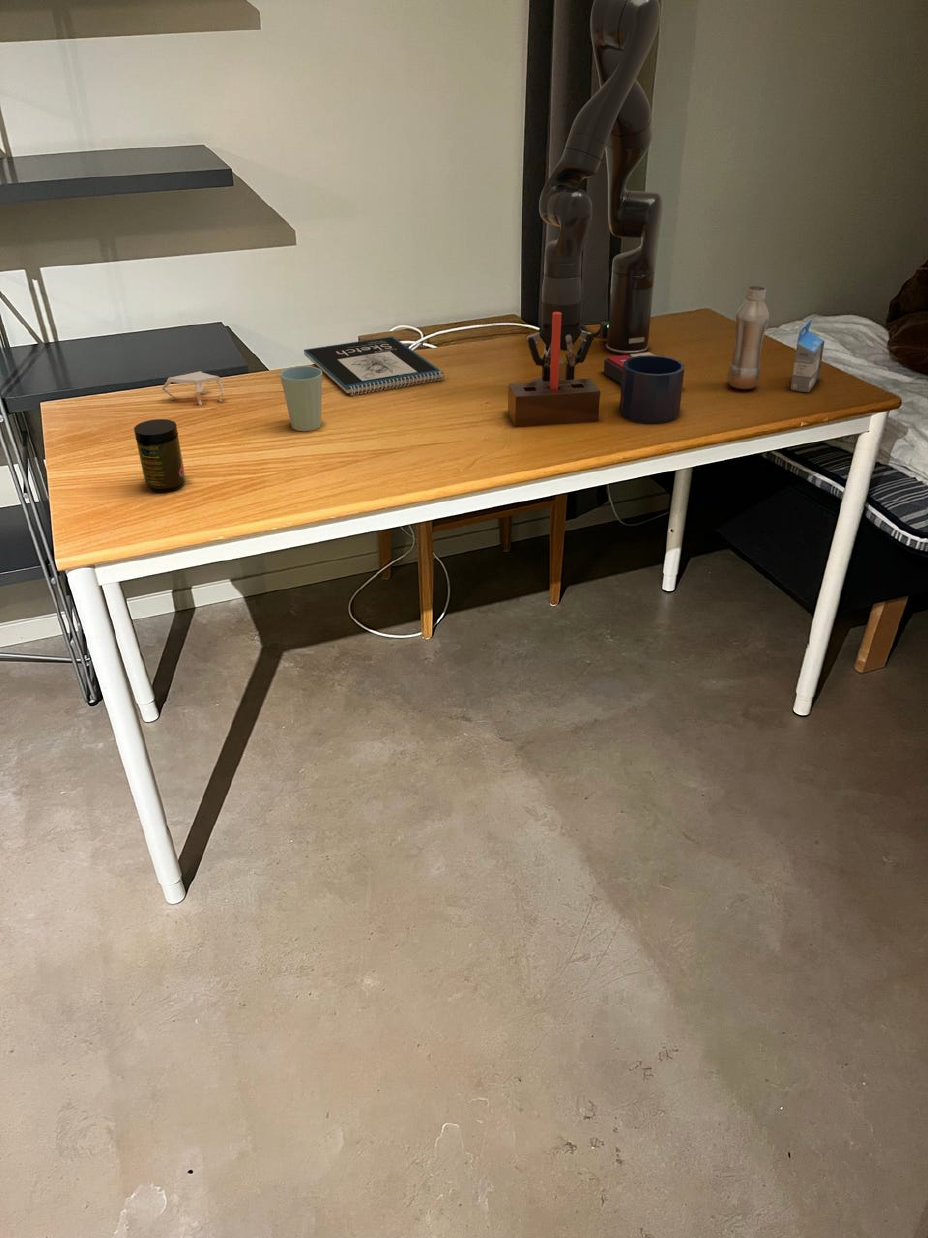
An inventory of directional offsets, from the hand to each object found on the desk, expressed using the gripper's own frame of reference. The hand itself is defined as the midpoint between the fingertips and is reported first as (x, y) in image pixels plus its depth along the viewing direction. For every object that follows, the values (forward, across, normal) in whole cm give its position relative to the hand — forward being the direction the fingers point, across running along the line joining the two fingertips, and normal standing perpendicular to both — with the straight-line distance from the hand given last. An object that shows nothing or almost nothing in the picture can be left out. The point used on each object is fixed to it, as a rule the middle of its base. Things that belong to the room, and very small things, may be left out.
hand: (557, 383), depth 201 cm
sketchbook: (+2, +36, -22) cm, 42 cm away
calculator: (+2, -19, -3) cm, 19 cm away
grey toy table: (+2, +73, -9) cm, 74 cm away
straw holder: (+2, +4, +13) cm, 14 cm away
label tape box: (+2, -51, +5) cm, 51 cm away
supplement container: (+2, +75, +31) cm, 81 cm away
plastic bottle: (+2, -38, +4) cm, 38 cm away
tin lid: (+1, 0, 0) cm, 1 cm away
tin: (+2, -15, +14) cm, 21 cm away
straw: (+2, +4, +13) cm, 14 cm away
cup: (+2, +51, +9) cm, 52 cm away
